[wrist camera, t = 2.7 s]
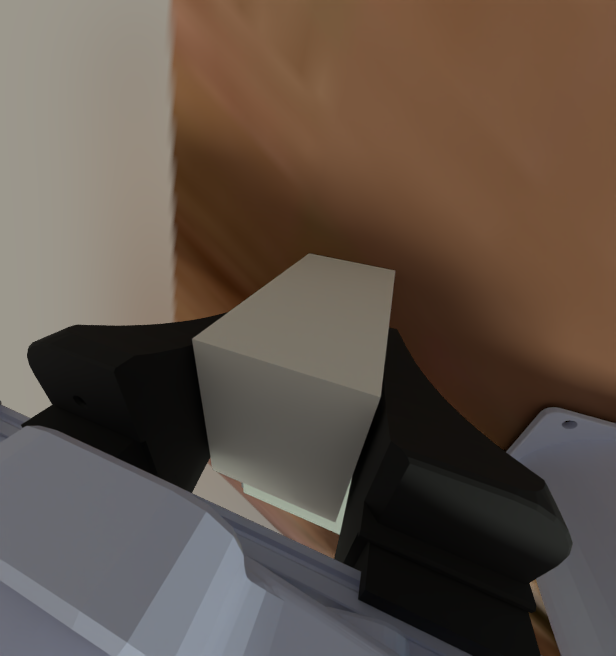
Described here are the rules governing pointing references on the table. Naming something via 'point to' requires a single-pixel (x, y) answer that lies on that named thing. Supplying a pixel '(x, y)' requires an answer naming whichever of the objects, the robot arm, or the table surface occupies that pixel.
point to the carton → (297, 380)
